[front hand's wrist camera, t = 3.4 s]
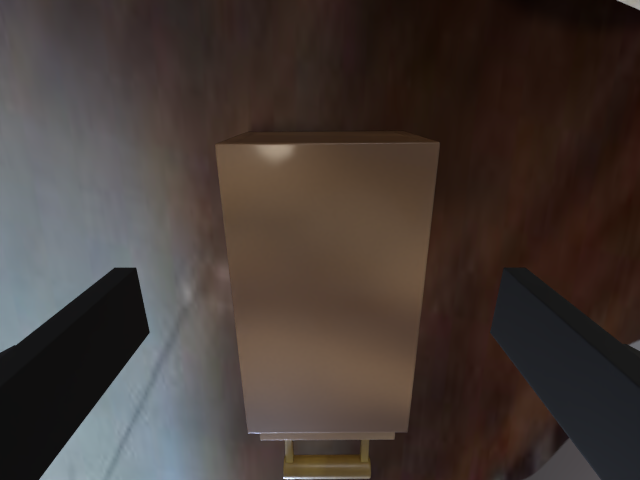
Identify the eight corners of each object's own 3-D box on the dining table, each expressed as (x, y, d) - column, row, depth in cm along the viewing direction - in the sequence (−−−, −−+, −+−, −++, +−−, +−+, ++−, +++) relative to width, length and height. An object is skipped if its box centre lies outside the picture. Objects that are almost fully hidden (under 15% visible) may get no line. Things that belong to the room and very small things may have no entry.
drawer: (377, 426, 33) (389, 493, 27) (274, 427, 33) (265, 494, 27) (394, 175, 24) (417, 196, 19) (256, 176, 24) (236, 198, 19)
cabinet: (386, 354, 31) (407, 432, 24) (264, 355, 31) (247, 433, 24) (403, 130, 24) (440, 142, 17) (246, 132, 24) (214, 143, 17)
